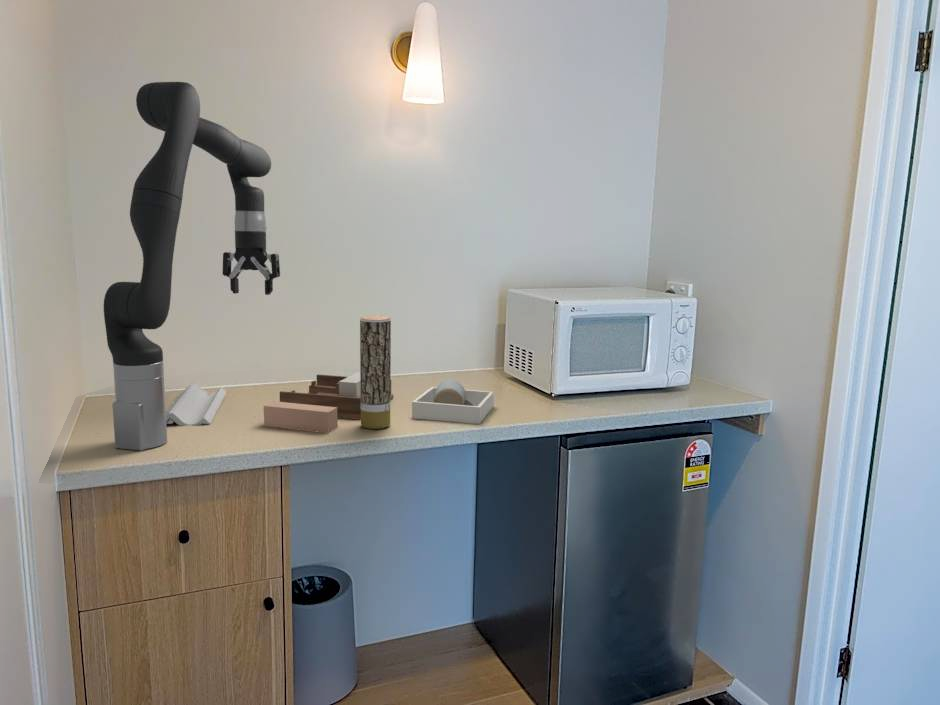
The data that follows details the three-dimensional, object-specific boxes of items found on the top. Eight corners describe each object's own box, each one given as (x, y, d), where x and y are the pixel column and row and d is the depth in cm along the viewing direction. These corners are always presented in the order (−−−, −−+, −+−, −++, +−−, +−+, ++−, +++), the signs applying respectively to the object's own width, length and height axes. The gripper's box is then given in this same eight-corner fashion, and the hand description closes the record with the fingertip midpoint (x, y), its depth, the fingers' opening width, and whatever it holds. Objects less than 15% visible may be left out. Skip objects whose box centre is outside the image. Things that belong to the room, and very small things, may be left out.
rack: (362, 419, 171) (362, 398, 170) (277, 411, 176) (277, 391, 175) (393, 398, 192) (393, 379, 191) (316, 392, 197) (316, 374, 196)
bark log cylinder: (362, 430, 162) (362, 320, 157) (358, 422, 168) (358, 316, 164) (392, 429, 163) (393, 319, 159) (387, 421, 170) (387, 315, 165)
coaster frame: (479, 423, 169) (480, 407, 169) (411, 418, 173) (412, 401, 172) (493, 406, 185) (493, 391, 185) (431, 401, 189) (431, 387, 188)
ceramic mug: (433, 416, 175) (434, 385, 173) (435, 408, 183) (436, 378, 182) (476, 418, 175) (478, 387, 173) (477, 409, 183) (478, 380, 181)
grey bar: (356, 403, 174) (356, 382, 173) (339, 401, 175) (338, 381, 174) (379, 388, 189) (379, 370, 188) (363, 387, 190) (363, 369, 189)
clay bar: (337, 428, 164) (337, 407, 163) (328, 434, 159) (328, 412, 159) (274, 422, 168) (274, 401, 167) (264, 427, 164) (263, 405, 163)
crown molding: (209, 427, 164) (208, 412, 163) (153, 429, 161) (152, 414, 161) (226, 395, 194) (225, 381, 193) (179, 396, 191) (178, 383, 191)
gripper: (216, 228, 179) (218, 294, 182) (272, 230, 178) (273, 296, 180) (229, 229, 186) (231, 291, 189) (283, 230, 185) (284, 293, 188)
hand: (251, 293), depth 185 cm, fingers open, 8 cm apart
